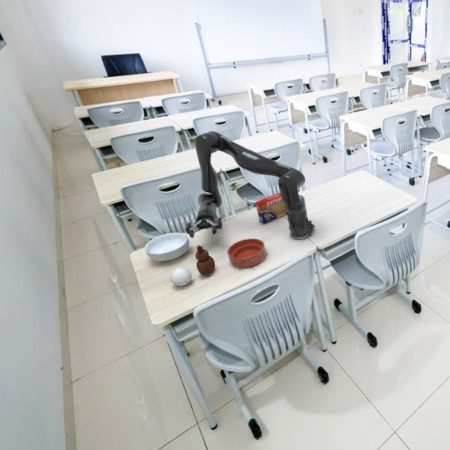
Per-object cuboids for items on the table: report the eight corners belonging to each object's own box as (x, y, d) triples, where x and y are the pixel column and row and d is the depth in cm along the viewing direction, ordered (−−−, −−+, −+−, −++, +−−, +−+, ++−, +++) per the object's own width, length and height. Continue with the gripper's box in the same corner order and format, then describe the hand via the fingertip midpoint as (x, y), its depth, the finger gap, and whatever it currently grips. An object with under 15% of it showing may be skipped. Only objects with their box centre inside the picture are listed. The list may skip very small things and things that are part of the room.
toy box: (263, 224, 182) (259, 204, 176) (259, 221, 184) (255, 202, 178) (293, 211, 193) (290, 192, 187) (289, 209, 195) (286, 190, 189)
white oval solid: (189, 275, 147) (183, 261, 143) (197, 283, 143) (191, 269, 139) (163, 287, 141) (156, 273, 137) (171, 296, 137) (164, 281, 133)
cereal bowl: (182, 266, 152) (176, 253, 149) (142, 267, 152) (136, 254, 148) (198, 243, 167) (193, 231, 163) (162, 245, 166) (156, 232, 162)
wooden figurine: (209, 278, 146) (198, 249, 138) (197, 276, 147) (185, 247, 139) (219, 268, 151) (209, 239, 143) (208, 266, 152) (197, 238, 144)
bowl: (266, 245, 166) (263, 235, 163) (267, 264, 154) (264, 254, 151) (231, 251, 161) (228, 242, 158) (229, 272, 149) (226, 261, 146)
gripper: (187, 211, 160) (181, 230, 147) (221, 206, 164) (218, 224, 151) (192, 225, 164) (187, 244, 151) (225, 220, 168) (223, 238, 155)
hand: (202, 234), depth 151 cm, fingers open, 8 cm apart
